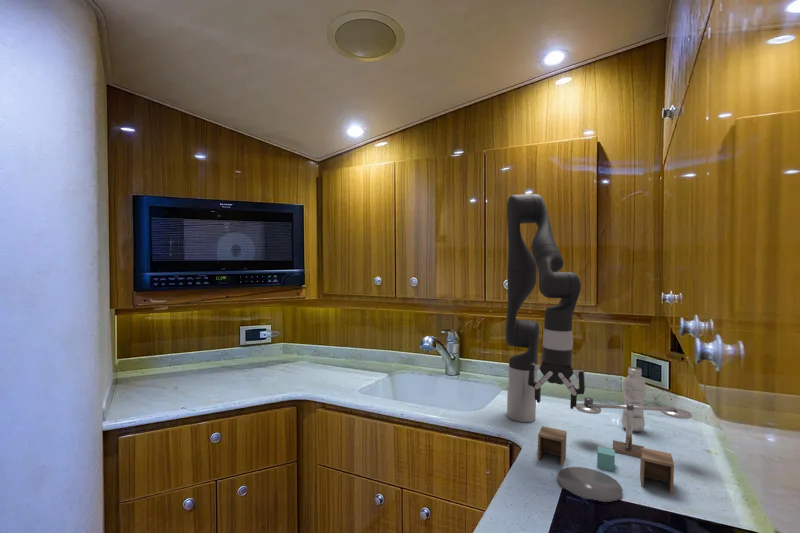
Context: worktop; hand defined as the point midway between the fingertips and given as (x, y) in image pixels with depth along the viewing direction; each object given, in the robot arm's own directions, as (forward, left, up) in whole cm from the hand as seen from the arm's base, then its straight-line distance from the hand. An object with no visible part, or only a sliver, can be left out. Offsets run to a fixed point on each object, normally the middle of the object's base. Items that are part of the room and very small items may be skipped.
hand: (555, 404), depth 113 cm
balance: (0, +24, -15) cm, 28 cm away
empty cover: (+16, +18, -15) cm, 28 cm away
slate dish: (+14, +1, -15) cm, 20 cm away
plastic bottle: (-13, +37, -15) cm, 41 cm away
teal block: (+6, +12, -15) cm, 20 cm away
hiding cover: (0, -1, -15) cm, 15 cm away
